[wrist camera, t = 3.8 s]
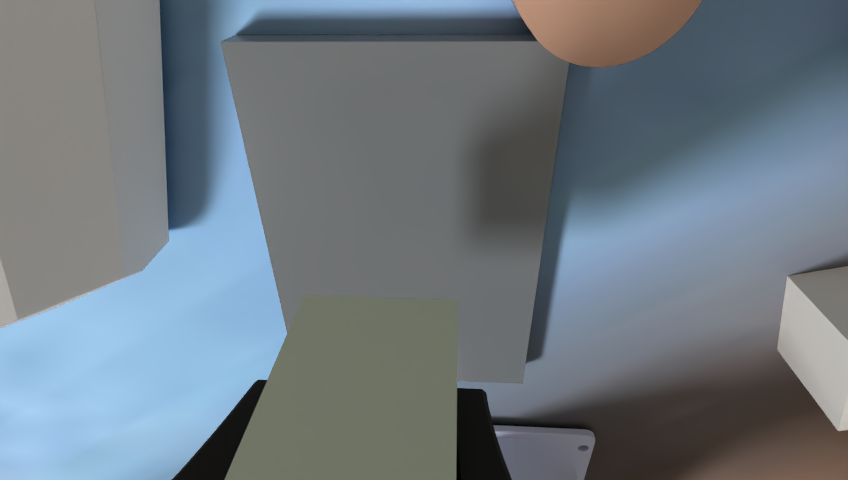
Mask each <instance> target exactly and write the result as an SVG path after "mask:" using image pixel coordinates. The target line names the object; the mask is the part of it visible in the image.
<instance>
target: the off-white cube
mask: <svg viewBox="0 0 848 480" xmlns="http://www.w3.org/2000/svg"><path fill="white" fill-rule="evenodd" d="M777 350H778V351H779V353H780V354H781V356H782V357H783V358H784V360H785V361H786V362H787V364H788V365H789V366H790V368H791V369H792V370H793V372H794V373H795V374H796V376H797V377H798V378H799V380H800V381H801V382H802V384H803V385H804V386H805V388H806V389H807V390H808V392H809V393H810V394H811V396H812V397H813V398H814V400H815V401H816V402H817V404H818V405H819V406H820V408H821V409H822V410H823V412H824V413H825V414H826V416H827V417H828V418H829V420H830V421H831V422H832V424H833V425H834V426H835V428H836V429H837V430H838V431H843V430H848V266H845V267H839V268H833V269H827V270H821V271H815V272H809V273H803V274H797V275H791V276H787V282H786V289H785V296H784V304H783V311H782V318H781V325H780V332H779V339H778V346H777Z"/></svg>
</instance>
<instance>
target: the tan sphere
mask: <svg viewBox="0 0 848 480" xmlns="http://www.w3.org/2000/svg"><path fill="white" fill-rule="evenodd" d="M511 1H512V3H513V5H514V7H515V8H516V10H517V11H518V13H519V14H520V16H521V17H522V19H523V20H524V22H525V23H526V25H527V26H528V28H529V30H530V31H531V32H532V34H533V35H534V36H535V38H536V39H537V40H538V41H539V42H540V43H541V45H542V46H543V47H544V48H546V49H547V50H548V51H549V52H551V53H552V54H553V55H555V56H557V57H559V58H561V59H562V60H564V61H567V62H570V63H572V64H576V65H580V66H585V67H611V66H616V65H621V64H624V63H628V62H631V61H634V60H636V59H638V58H640V57H643V56H645V55H647V54H648V53H650V52H652V51H654V50H655V49H657V48H658V47H660V46H661V45H662V44H664V43H665V42H667V41H668V40H669V39H670V38H671V37H672V36H674V35H675V34H676V33H677V32H678V31H679V30H680V29H681V28H682V27H683V26H684V24H685V23H686V22H687V21H688V20H689V19H690V18H691V16H692V15H693V13H694V12H695V11H696V9H697V8H698V7H699V5H700V3H701V1H702V0H511Z"/></svg>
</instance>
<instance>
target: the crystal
mask: <svg viewBox="0 0 848 480" xmlns="http://www.w3.org/2000/svg"><path fill="white" fill-rule="evenodd" d="M95 7H96V9H95ZM96 16H97V19H96ZM97 26H98V28H97ZM98 35H99V38H98ZM99 45H100V47H99ZM100 54H101V56H100ZM101 63H102V66H101ZM102 73H103V75H102ZM103 82H104V84H103ZM104 92H105V94H104ZM105 101H106V103H105ZM106 111H107V112H106ZM107 120H108V122H107ZM108 129H109V131H108ZM109 139H110V140H109ZM110 148H111V150H110ZM111 158H112V159H111ZM112 167H113V168H112ZM113 177H114V178H113ZM114 186H115V187H114ZM116 205H117V206H116ZM117 214H118V215H117ZM168 241H169V231H168V206H167V180H166V154H165V128H164V102H163V77H162V51H161V25H160V0H0V328H2V327H5V326H8V325H10V324H13V323H16V322H19V321H21V320H24V319H27V318H30V317H32V316H35V315H38V314H41V313H43V312H46V311H49V310H52V309H54V308H57V307H59V306H61V305H64V304H66V303H68V302H71V301H73V300H75V299H78V298H80V297H82V296H85V295H87V294H89V293H92V292H94V291H96V290H99V289H101V288H103V287H106V286H108V285H110V284H112V283H115V282H117V281H119V280H122V279H124V278H126V277H129V276H131V275H133V274H136V273H138V272H140V271H142V270H143V269H144V268H145V267H146V266H147V265H148V264H149V262H150V261H151V260H152V259H153V258H154V257H155V256H156V255H157V254H158V252H159V251H160V250H161V249H162V248H163V247H164V246H165V245H166V243H167V242H168Z"/></svg>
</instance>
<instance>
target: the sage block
mask: <svg viewBox="0 0 848 480" xmlns="http://www.w3.org/2000/svg"><path fill="white" fill-rule="evenodd" d="M457 317H458V300H447V299H414V298H382V297H350V296H318V295H304V297H303V299H302V301H301V303H300V306H299V308H298V310H297V313H296V315H295V317H294V320H293V322H292V324H291V327H290V329H289V331H288V334H287V336H286V338H285V341H284V343H283V345H282V347H281V350H280V352H279V354H278V357H277V359H276V361H275V364H274V366H273V368H272V371H271V373H270V375H269V378H268V380H267V382H266V385H265V387H264V389H263V392H262V394H261V396H260V398H259V401H258V403H257V405H256V408H255V410H254V412H253V415H252V417H251V419H250V422H249V424H248V426H247V429H246V431H245V433H244V436H243V438H242V440H241V443H240V445H239V447H238V449H237V452H236V454H235V456H234V459H233V461H232V463H231V466H230V468H229V470H228V473H227V475H226V477H225V480H456V454H457Z"/></svg>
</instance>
